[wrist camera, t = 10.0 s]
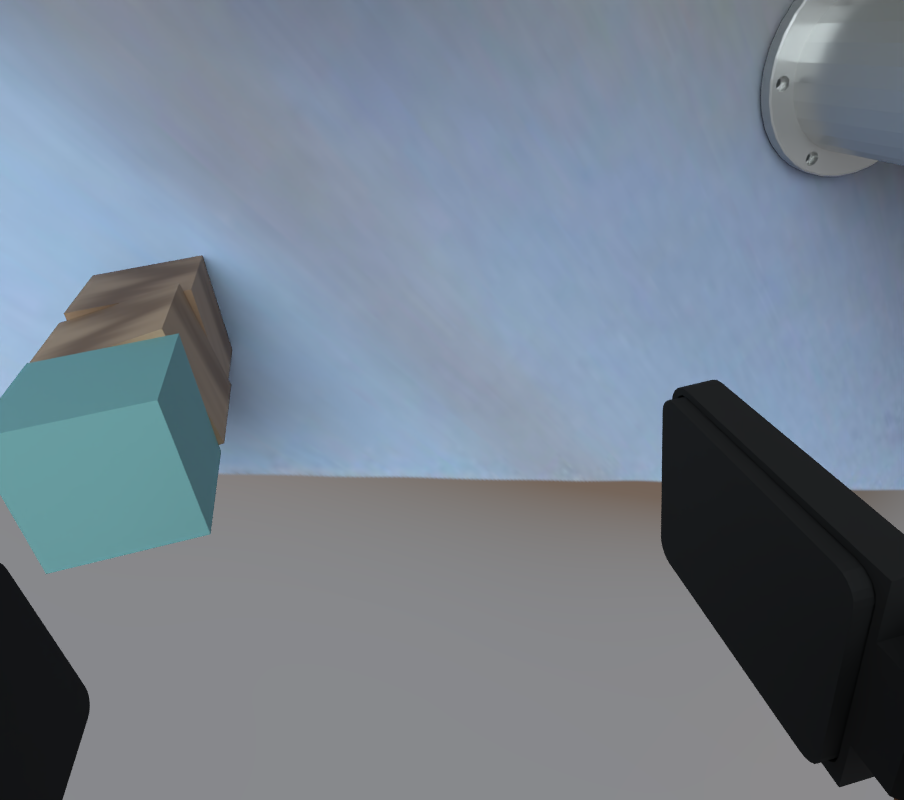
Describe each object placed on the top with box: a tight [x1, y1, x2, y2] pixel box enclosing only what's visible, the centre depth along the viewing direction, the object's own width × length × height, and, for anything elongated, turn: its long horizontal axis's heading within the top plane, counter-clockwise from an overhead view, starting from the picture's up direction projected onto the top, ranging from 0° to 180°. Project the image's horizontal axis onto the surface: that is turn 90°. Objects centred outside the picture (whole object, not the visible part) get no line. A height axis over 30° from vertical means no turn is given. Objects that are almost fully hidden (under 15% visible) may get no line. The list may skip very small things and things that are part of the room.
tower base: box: [64, 256, 232, 378], centre depth 37 cm, size 6×6×6 cm
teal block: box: [0, 333, 221, 574], centre depth 26 cm, size 6×6×6 cm
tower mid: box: [30, 283, 231, 445], centre depth 31 cm, size 6×6×6 cm
